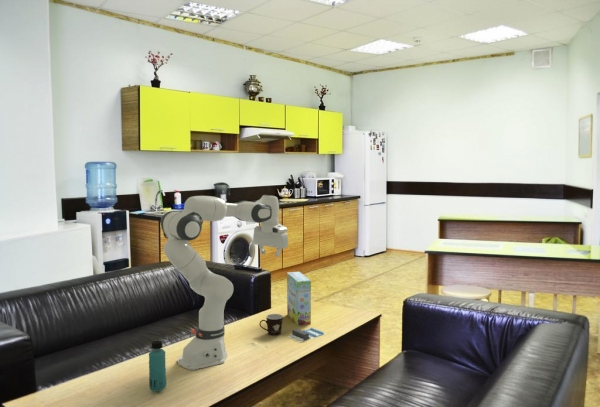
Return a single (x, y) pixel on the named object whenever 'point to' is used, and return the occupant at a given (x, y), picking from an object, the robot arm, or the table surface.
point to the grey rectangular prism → (300, 334)
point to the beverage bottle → (157, 367)
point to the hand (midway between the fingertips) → (270, 255)
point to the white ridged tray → (312, 334)
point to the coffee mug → (273, 324)
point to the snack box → (299, 298)
